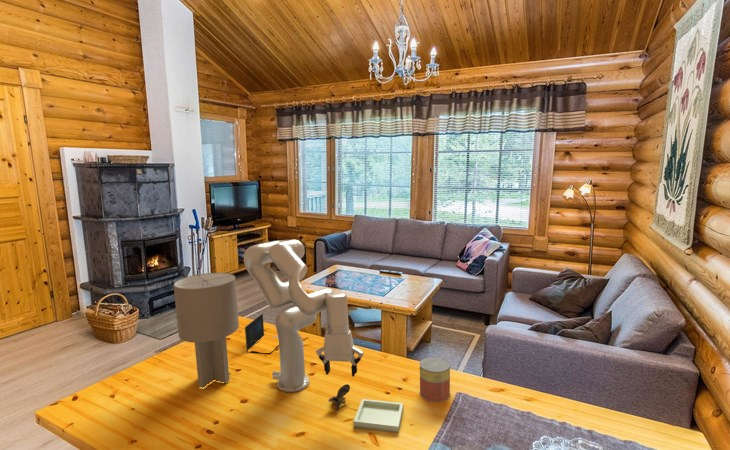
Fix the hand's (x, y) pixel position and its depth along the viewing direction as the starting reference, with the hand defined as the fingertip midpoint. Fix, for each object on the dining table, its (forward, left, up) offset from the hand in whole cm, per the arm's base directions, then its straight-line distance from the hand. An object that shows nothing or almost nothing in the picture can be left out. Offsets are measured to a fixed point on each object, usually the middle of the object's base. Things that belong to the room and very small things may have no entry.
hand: (340, 373), depth 139 cm
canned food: (+32, +14, -13) cm, 38 cm away
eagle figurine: (-1, +2, -13) cm, 13 cm away
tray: (+14, -4, -13) cm, 20 cm away
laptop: (-51, +42, -13) cm, 67 cm away
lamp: (-58, +8, -13) cm, 60 cm away
